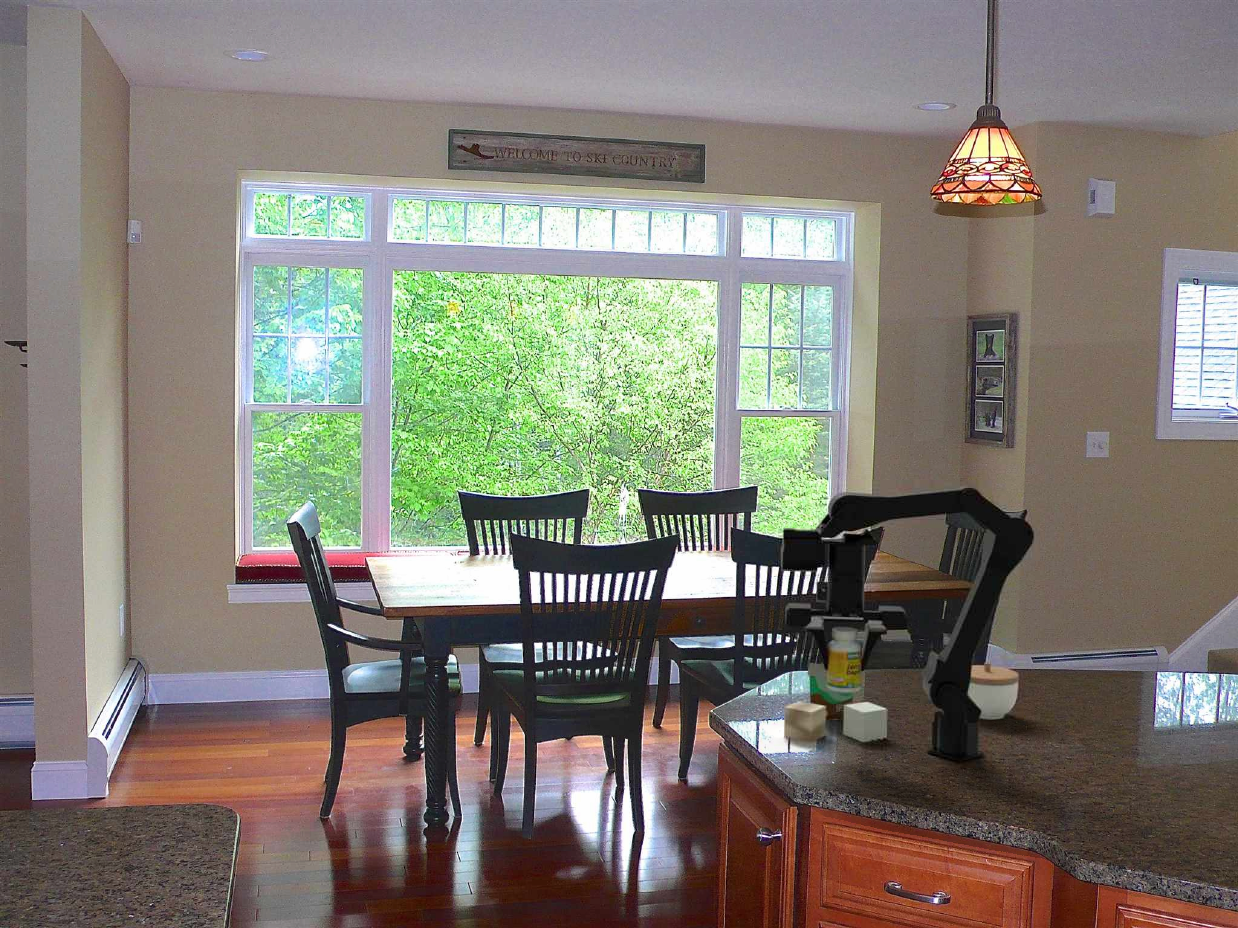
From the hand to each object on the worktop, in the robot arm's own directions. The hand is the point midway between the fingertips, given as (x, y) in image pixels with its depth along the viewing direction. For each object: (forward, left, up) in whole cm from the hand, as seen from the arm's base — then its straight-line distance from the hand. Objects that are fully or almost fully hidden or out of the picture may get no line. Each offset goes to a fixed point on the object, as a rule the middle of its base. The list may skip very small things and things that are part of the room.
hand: (844, 669), depth 185 cm
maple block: (+9, -1, -13) cm, 16 cm away
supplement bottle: (0, 0, -3) cm, 3 cm away
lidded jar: (-1, -37, -13) cm, 39 cm away
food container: (+14, -15, -13) cm, 24 cm away
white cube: (+3, -9, -13) cm, 16 cm away
